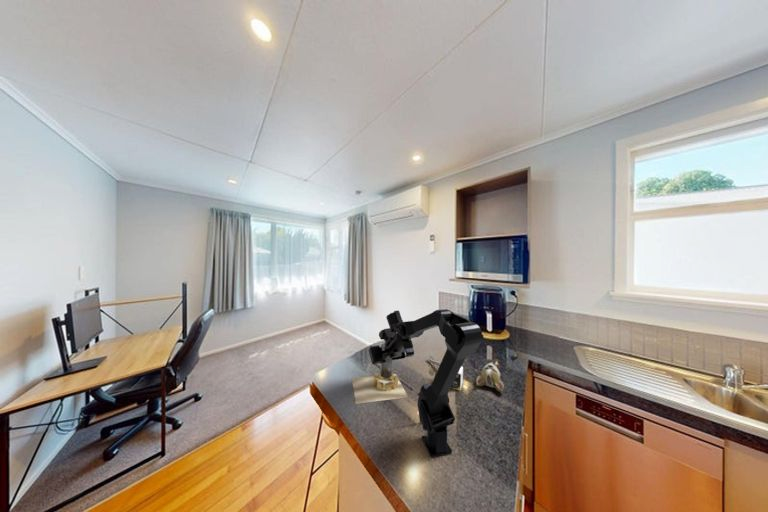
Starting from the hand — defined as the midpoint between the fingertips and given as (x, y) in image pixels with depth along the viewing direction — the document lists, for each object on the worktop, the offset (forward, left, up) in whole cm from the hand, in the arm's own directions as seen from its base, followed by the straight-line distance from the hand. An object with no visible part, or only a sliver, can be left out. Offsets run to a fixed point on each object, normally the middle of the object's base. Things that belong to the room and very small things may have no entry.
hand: (384, 360), depth 89 cm
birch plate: (-3, +3, -10) cm, 11 cm away
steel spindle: (-1, 0, -5) cm, 5 cm away
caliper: (+8, -30, -10) cm, 33 cm away
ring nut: (-1, 0, -9) cm, 9 cm away
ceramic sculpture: (-8, -46, -11) cm, 48 cm away
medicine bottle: (-5, -30, -11) cm, 32 cm away
